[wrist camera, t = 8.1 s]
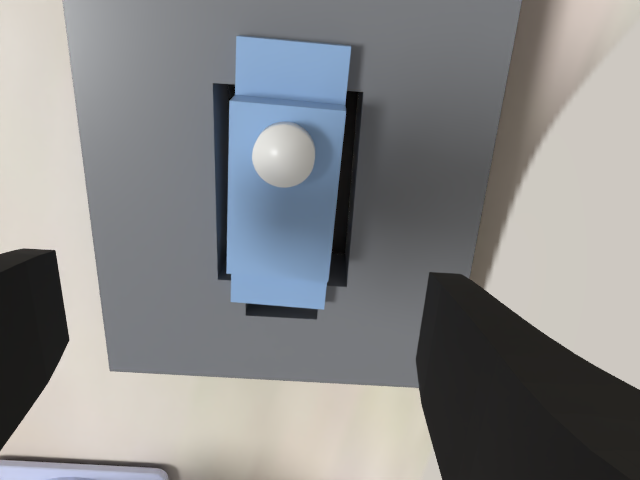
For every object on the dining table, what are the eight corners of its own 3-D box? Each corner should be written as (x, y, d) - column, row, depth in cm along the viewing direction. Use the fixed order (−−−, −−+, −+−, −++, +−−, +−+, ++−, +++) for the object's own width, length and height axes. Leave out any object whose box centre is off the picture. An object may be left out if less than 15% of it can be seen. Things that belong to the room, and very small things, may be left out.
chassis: (435, 347, 22) (448, 389, 19) (133, 331, 21) (109, 370, 19) (503, -51, 16) (533, -59, 14) (91, -76, 16) (51, -89, 13)
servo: (324, 265, 20) (323, 336, 16) (244, 259, 20) (222, 327, 16) (347, 38, 17) (353, 51, 13) (252, 30, 17) (226, 40, 13)
